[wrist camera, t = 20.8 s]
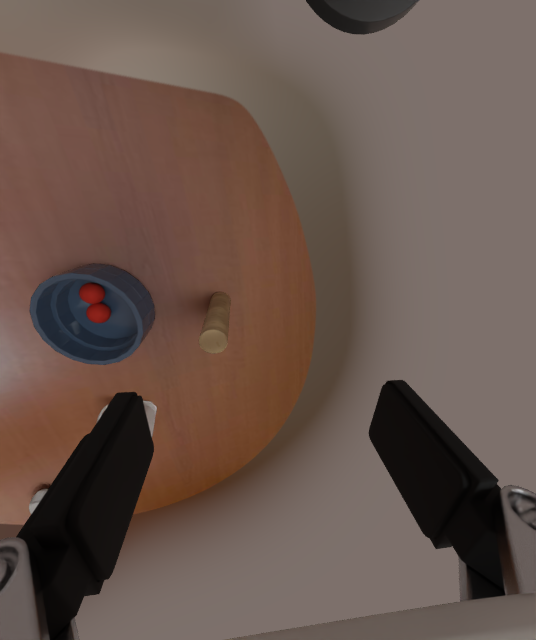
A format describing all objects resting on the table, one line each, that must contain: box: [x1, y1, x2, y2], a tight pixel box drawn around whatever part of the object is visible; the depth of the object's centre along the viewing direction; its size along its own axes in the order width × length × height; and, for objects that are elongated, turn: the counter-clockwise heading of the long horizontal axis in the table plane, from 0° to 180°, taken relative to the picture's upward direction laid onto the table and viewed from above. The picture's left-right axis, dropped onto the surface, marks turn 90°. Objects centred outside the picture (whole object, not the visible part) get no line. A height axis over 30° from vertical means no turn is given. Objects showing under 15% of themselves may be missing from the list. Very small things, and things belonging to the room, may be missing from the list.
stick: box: [199, 292, 231, 354], centre depth 33 cm, size 3×3×13 cm
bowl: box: [30, 264, 155, 365], centre depth 35 cm, size 13×13×6 cm
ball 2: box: [86, 303, 111, 323], centre depth 36 cm, size 3×3×3 cm
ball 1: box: [79, 283, 105, 304], centre depth 34 cm, size 3×3×3 cm
